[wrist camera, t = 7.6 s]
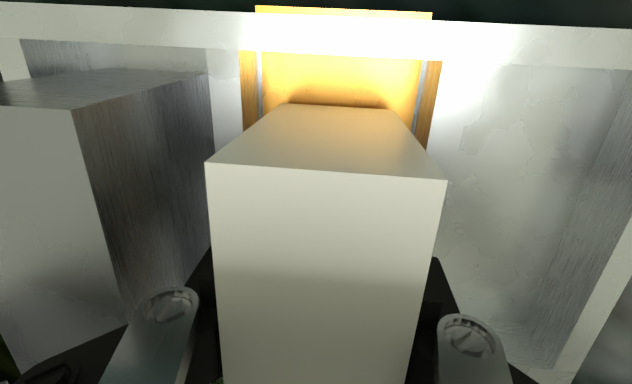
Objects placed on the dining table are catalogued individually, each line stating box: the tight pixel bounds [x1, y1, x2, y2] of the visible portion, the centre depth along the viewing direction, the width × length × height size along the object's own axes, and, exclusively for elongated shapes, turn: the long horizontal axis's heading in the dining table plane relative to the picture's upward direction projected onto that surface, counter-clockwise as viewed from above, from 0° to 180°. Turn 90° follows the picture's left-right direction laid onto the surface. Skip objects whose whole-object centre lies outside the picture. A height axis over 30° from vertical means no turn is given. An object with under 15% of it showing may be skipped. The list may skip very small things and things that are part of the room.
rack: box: [0, 2, 632, 384], centre depth 12 cm, size 22×14×8 cm, turn 88°
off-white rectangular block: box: [204, 103, 448, 384], centre depth 11 cm, size 4×10×7 cm, turn 178°
